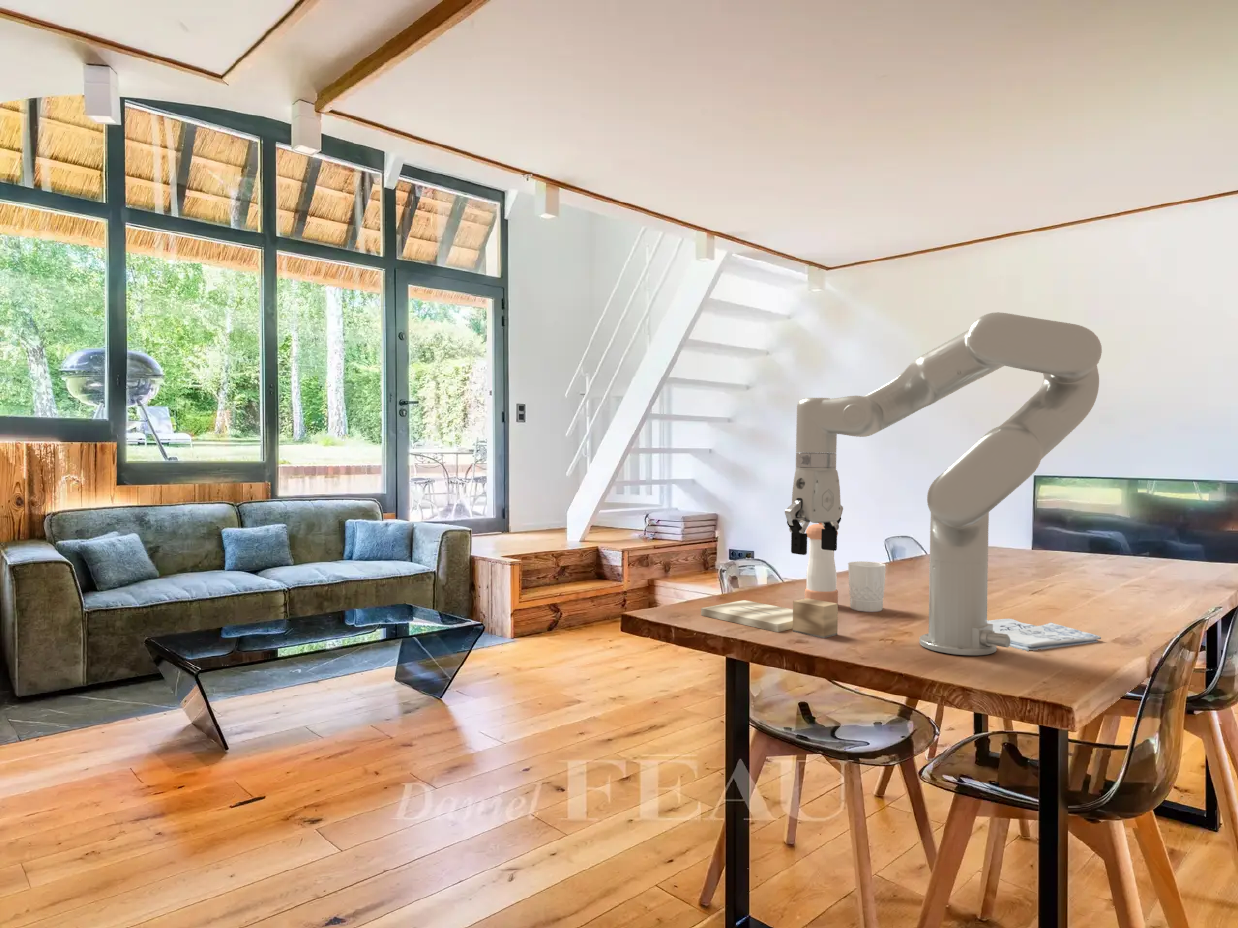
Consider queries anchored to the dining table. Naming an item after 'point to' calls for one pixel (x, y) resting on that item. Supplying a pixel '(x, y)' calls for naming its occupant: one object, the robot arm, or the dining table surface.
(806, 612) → the block
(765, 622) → the board
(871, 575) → the white cup
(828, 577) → the pepper shaker
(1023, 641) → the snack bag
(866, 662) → the dining table surface
